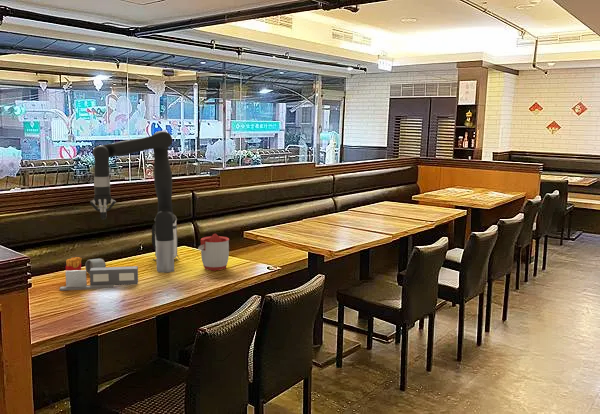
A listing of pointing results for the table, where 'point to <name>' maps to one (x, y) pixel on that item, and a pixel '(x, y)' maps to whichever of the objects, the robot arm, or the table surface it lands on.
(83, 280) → the sliding shutter
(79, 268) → the french fries
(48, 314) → the table surface
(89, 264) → the ceramic mug
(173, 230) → the coffee press
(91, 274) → the grey box with rod
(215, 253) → the citrus juicer
